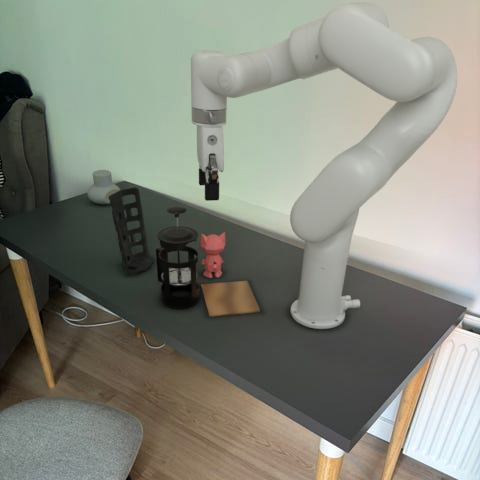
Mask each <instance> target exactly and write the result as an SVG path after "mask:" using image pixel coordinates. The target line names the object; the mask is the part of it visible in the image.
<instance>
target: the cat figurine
mask: <svg viewBox="0 0 480 480" xmlns="http://www.w3.org/2000/svg"><path fill="white" fill-rule="evenodd" d="M226 240H227V239H226V231H224V232H222V233H221V234H220V235H217V234H214V233H212V234H208V235H205V234H203V233H201V234H200V243H199V246H200V247H199V249H202V251H203V252H204V253H205V254H206V257H205V258H203V259H202V260H201V263H200V264H201V265H202V266H204V269H205V270H204V272H203V273H202V274H203V276H204V277H206V278H209V279H211V278H213V276H215V278H219V277H221V276H222V275H223V272H222V265H223V264H224V259H223V257H221V255H220V253H222V252H223V251H224V249H225V247H226V243H227V242H226ZM213 273H214V274H213Z"/></svg>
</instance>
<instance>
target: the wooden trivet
mask: <svg viewBox="0 0 480 480" xmlns="http://www.w3.org/2000/svg"><path fill="white" fill-rule="evenodd" d="M200 288H201V292H202V295H203V299H204V303H205V306H206V309H207V313H208V317H219V316H221V317H222V316H232V315H242V314H243V315H244V314H254V313H255V314H256V313H260V312H261V308H260V306H259V304H258V302H257V300H256V297H255V295H254V292H253V291H252V287H251V286H250V283H249V281H248V280H239V281H238V280H237V281H225V282H224V281H223V282H214V283H213V282H212V283H211V282H210V283H201V284H200Z"/></svg>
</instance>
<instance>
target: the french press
mask: <svg viewBox="0 0 480 480" xmlns="http://www.w3.org/2000/svg"><path fill="white" fill-rule="evenodd" d="M166 212H167V213H169V214H171V215H172V214H173V215H174V218H175V222H176V223H175V224H176V226H175V225H173V226H168V227H165V228H162V229H161V230H159V231H158V232H157V235H156V237H157V239H158V240H159V247H157V248H155V259H156V261H155V262H156V272H157V274H156V275H157V281H158V283H160V284H161V285H160V293H161V294H160V302H161V304H162V305H163V306H165V307H167V308H169V309H173V310H186V309H187V310H188V309H190V308H193V307H195V306H197V305H198V304H199V303H200V300H201V295H200V285H199V283H198V282H197V280H198V273H197V263H198V262H199V251H198V250H197V249H195V248H193V247H192V246H188V244H190V243H193V242H197V239H198V238H199V233H198V231H197V230H195V229H194V228H192V227H188V226H182V225H181V226H180V225H179V218H180V215H181V214H184V213H186V212H187V207H185V206H182V205H172V206H169V207H167V209H166ZM171 252H172V253H173V252H177V262H170V261H169V253H171ZM180 252H187V259H188V260H187V261H186V262H181V261H180V260H181V259H180V257H181V256H180ZM178 291H183V292H189V293H190V294H188V295H183V296H177V295H171V294H172V293H174V292H178Z"/></svg>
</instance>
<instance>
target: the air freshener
mask: <svg viewBox="0 0 480 480" xmlns="http://www.w3.org/2000/svg"><path fill="white" fill-rule="evenodd" d="M92 180H93V184H92V185H90V186H89V187H88V189H87V191H86V194H87V198H88V199H89V200H90V201H91V202H92V203H94V204H97V205H101V206H102V205H105V206H109V205H110V200H109V196H110V195H112V194H114V193H116V192H118V191H120V190H121V188H120V187H119V186H118V185H117V184H115V183H113V178H112V171H110V170H108V169H97V170H95V171H93V172H92Z"/></svg>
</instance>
